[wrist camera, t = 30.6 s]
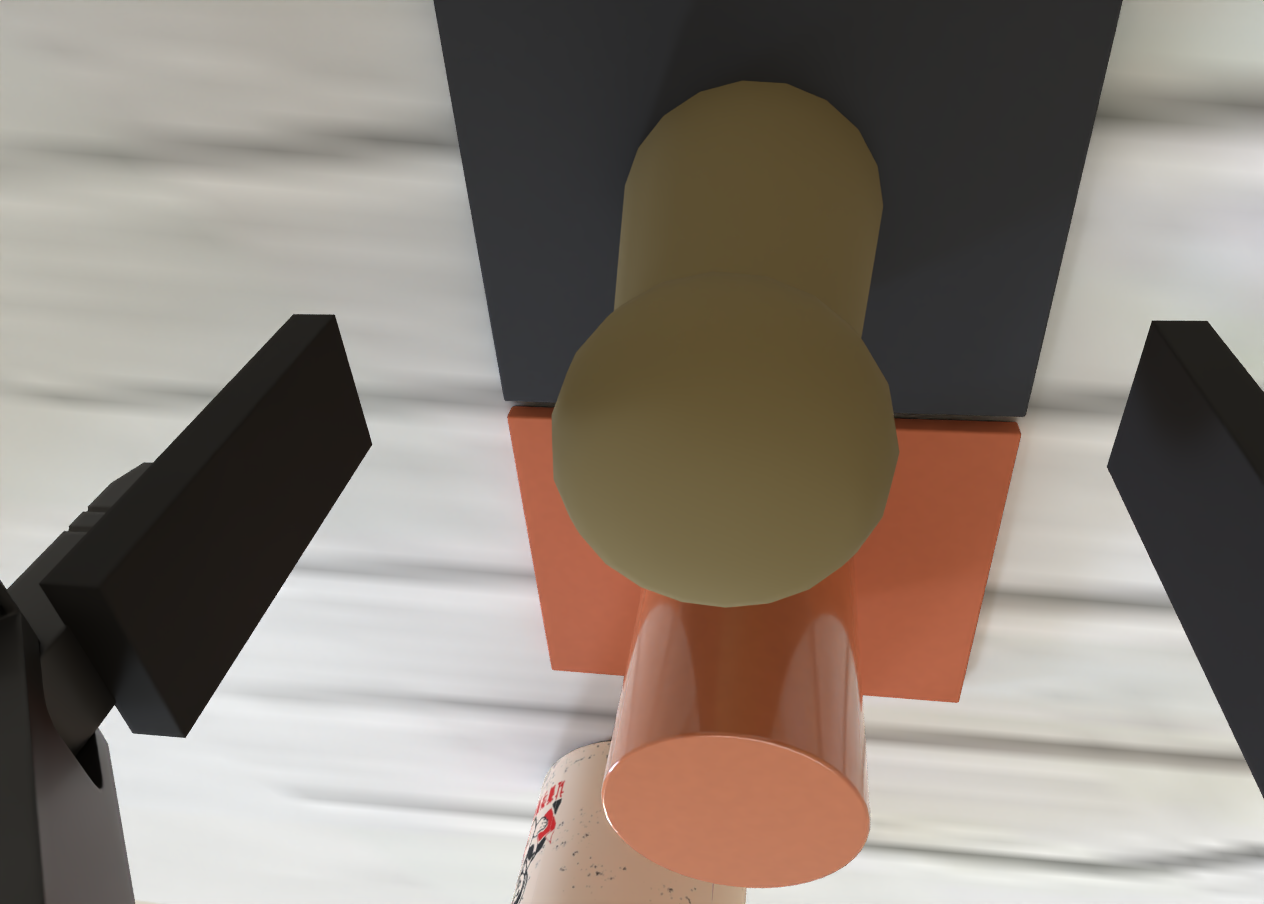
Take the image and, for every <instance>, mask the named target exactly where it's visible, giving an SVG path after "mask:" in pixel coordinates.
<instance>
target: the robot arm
mask: <svg viewBox="0 0 1264 904" xmlns="http://www.w3.org/2000/svg"><path fill="white" fill-rule="evenodd" d="M371 446H372V442H371V438H370V435H369V431H368V428H367V424H366V421H365V418H364V414H363V411H362V407H361V404H360V400H359V397H358V393H357V390H356V386H355V383H354V380H353V376H352V373H351V369H350V366H349V362H348V359H347V355H346V352H345V348H344V345H343V341H342V338H341V335H340V331H339V328H338V324H337V321H336V317H335V315H315V314H293V315H292V316H291V317H290V319H289V320H288V321H287V322H286V323H285V324H284V325H283V326H282V327H281V328H280V329H279V330H278V331H277V332H276V333H275V334H274V335H273V336H272V338H271V339H270V340H269V341H268V342H267V343H266V344H265V345H264V346H263V347H262V348H261V349H260V350H259V351H258V352H257V353H256V354H255V356H254V357H253V358H252V359H251V360H250V361H249V362H248V363H247V364H246V365H245V366H244V367H243V368H242V369H241V370H240V371H239V372H238V373H237V375H236V376H235V377H234V378H233V379H232V380H231V381H230V382H229V383H228V384H227V385H226V386H225V387H224V388H223V389H222V390H221V391H220V393H219V394H218V395H217V396H216V397H215V398H214V399H213V400H212V401H211V402H210V403H209V404H208V405H207V406H206V407H205V408H204V409H203V411H202V412H201V413H200V414H199V415H198V416H197V417H196V418H195V419H194V420H193V421H192V422H191V423H190V424H189V425H188V426H187V427H186V428H185V430H184V431H183V432H182V433H181V434H180V435H179V436H178V437H177V438H176V439H175V440H174V441H173V442H172V443H171V444H170V445H169V446H168V448H167V449H166V450H165V451H164V452H163V453H162V454H161V455H160V456H159V457H158V458H157V459H156V460H155V461H154V462H153V463H145V462H144V463H142V464H141V465H139V466H138V467H136V468H134V469H133V470H131V471H130V472H128V473H126V474H125V475H123V476H122V477H120V478H118V479H117V480H115V481H114V482H112V483H111V484H110V485H109V486H108V487H107V488H106V489H105V490H104V491H103V492H102V493H101V494H100V495H99V496H98V497H97V498H96V499H95V500H94V501H93V502H92V503H91V504H90V505H89V506H88V511H87V512H82V513H81V514H80V515H79V516H78V517H77V518H76V519H75V520H74V522H73V523H72V524H71V525H70V526H69V531H64V532H63V533H62V534H61V535H60V536H59V537H58V538H57V539H56V540H55V541H54V542H53V543H52V544H51V545H50V546H49V547H48V548H47V549H46V550H45V551H44V552H43V553H42V554H41V555H40V556H39V557H38V558H37V559H36V560H35V561H34V562H33V563H32V564H31V565H30V566H29V567H28V569H27V570H26V571H25V572H24V573H23V574H22V575H21V576H20V577H19V578H18V579H17V580H16V581H15V582H14V583H13V584H12V585H11V586H10V587H9V588H8V589H6V588H5V586H4V585H3V583H2V582H1V580H0V904H135V899H134V893H133V888H132V882H131V876H130V870H129V864H128V858H127V852H126V847H125V841H124V835H123V829H122V823H121V817H120V811H119V806H118V800H117V794H116V788H115V782H114V776H113V770H112V765H111V759H110V753H109V747H108V743H107V742H106V740H105V738H104V736H103V734H102V733H101V731H100V730H99V728H98V727H99V725H100V724H101V723H102V721H103V720H104V718H105V717H106V716H107V714H108V713H109V712H110V710H111V709H112V708H113V706H114V705H115V706H116V707H117V709H118V711H119V712H120V714H121V715H122V717H123V719H124V720H125V722H126V723H127V725H128V726H129V728H130V730H131V731H132V733H135V734H146V735H158V736H170V737H181V738H186V736H187V735H188V733H189V731H190V730H191V728H192V727H193V725H194V724H195V722H196V720H197V719H198V717H199V716H200V714H201V713H202V711H203V709H204V708H205V706H206V705H207V703H208V702H209V700H210V698H211V697H212V695H213V694H214V692H215V691H216V689H217V687H218V686H219V684H220V683H221V681H222V680H223V678H224V676H225V675H226V673H227V672H228V670H229V669H230V667H231V665H232V664H233V662H234V661H235V659H236V658H237V656H238V654H239V653H240V651H241V650H242V648H243V647H244V645H245V643H246V642H247V640H248V639H249V637H250V636H251V634H252V633H253V631H254V629H255V628H256V626H257V625H258V623H259V622H260V620H261V618H262V617H263V615H264V614H265V612H266V611H267V609H268V607H269V606H270V604H271V603H272V601H273V600H274V598H275V596H276V595H277V593H278V592H279V590H280V589H281V587H282V585H283V584H284V582H285V581H286V579H287V578H288V576H289V574H290V573H291V571H292V570H293V568H294V567H295V565H296V563H297V562H298V560H299V559H300V557H301V556H302V554H303V552H304V551H305V549H306V548H307V546H308V545H309V543H310V541H311V540H312V538H313V537H314V535H315V534H316V532H317V530H318V529H319V527H320V526H321V524H322V523H323V521H324V519H325V518H326V516H327V515H328V513H329V512H330V510H331V508H332V507H333V505H334V504H335V502H336V501H337V499H338V497H339V496H340V494H341V493H342V491H343V490H344V488H345V486H346V485H347V483H348V482H349V480H350V479H351V477H352V475H353V474H354V472H355V471H356V469H357V468H358V466H359V464H360V463H361V461H362V460H363V458H364V457H365V455H366V453H367V452H368V450H369V449H370V447H371ZM1107 468H1108V470H1109V472H1110V474H1111V476H1112V479H1113V481H1114V483H1115V485H1116V487H1117V489H1118V491H1119V493H1120V495H1121V498H1122V500H1123V502H1124V504H1125V506H1126V508H1127V510H1128V512H1129V514H1130V517H1131V519H1132V521H1133V523H1134V525H1135V527H1136V529H1137V531H1138V534H1139V536H1140V538H1141V540H1142V542H1143V544H1144V546H1145V548H1146V550H1147V553H1148V555H1149V557H1150V559H1151V561H1152V563H1153V565H1154V567H1155V569H1156V572H1157V574H1158V576H1159V578H1160V580H1161V582H1162V584H1163V586H1164V588H1165V591H1166V593H1167V595H1168V597H1169V599H1170V601H1171V603H1172V605H1173V608H1174V610H1175V612H1176V614H1177V616H1178V618H1179V620H1180V622H1181V624H1182V627H1183V629H1184V631H1185V633H1186V635H1187V637H1188V639H1189V641H1190V643H1191V646H1192V648H1193V650H1194V652H1195V654H1196V656H1197V658H1198V660H1199V663H1200V665H1201V667H1202V669H1203V671H1204V673H1205V675H1206V677H1207V679H1208V682H1209V684H1210V686H1211V688H1212V690H1213V692H1214V694H1215V696H1216V698H1217V701H1218V703H1219V705H1220V707H1221V709H1222V711H1223V713H1224V715H1225V717H1226V720H1227V722H1228V724H1229V726H1230V728H1231V730H1232V732H1233V734H1234V737H1235V739H1236V741H1237V743H1238V745H1239V747H1240V749H1241V751H1242V753H1243V756H1244V758H1245V760H1246V762H1247V764H1248V766H1249V768H1250V770H1251V772H1252V775H1253V777H1254V779H1255V781H1256V783H1257V785H1258V787H1259V789H1260V792H1261V794H1262V796H1263V798H1264V392H1263V391H1262V389H1261V388H1260V387H1259V386H1258V384H1257V383H1256V382H1255V381H1254V379H1253V378H1252V377H1251V376H1250V374H1249V373H1248V372H1247V371H1246V369H1245V368H1244V367H1243V365H1242V364H1241V363H1240V362H1239V360H1238V359H1237V358H1236V357H1235V355H1234V354H1233V353H1232V352H1231V350H1230V349H1229V348H1228V347H1227V345H1226V344H1225V343H1224V341H1223V340H1222V339H1221V338H1220V336H1219V335H1218V334H1217V333H1216V331H1215V330H1214V329H1213V328H1212V326H1211V325H1210V324H1209V323H1208V321H1152V323H1151V326H1150V329H1149V332H1148V336H1147V339H1146V342H1145V345H1144V348H1143V352H1142V355H1141V358H1140V361H1139V365H1138V368H1137V371H1136V374H1135V378H1134V381H1133V384H1132V387H1131V390H1130V394H1129V397H1128V400H1127V403H1126V407H1125V410H1124V413H1123V416H1122V420H1121V423H1120V426H1119V429H1118V432H1117V436H1116V439H1115V442H1114V445H1113V449H1112V452H1111V455H1110V458H1109V462H1108V465H1107Z"/></svg>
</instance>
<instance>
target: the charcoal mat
mask: <svg viewBox="0 0 1264 904" xmlns="http://www.w3.org/2000/svg"><path fill="white" fill-rule="evenodd" d="M1122 1H1123V0H434V6H435V11H436V17H437V23H438V28H439V34H440V40H441V45H442V51H443V57H444V62H445V68H446V74H447V79H448V85H449V91H450V96H451V102H452V108H453V113H454V119H455V124H456V130H457V136H458V141H459V147H460V153H461V158H462V164H463V170H464V175H465V181H466V187H467V192H468V198H469V204H470V209H471V215H472V221H473V226H474V232H475V237H476V243H477V249H478V254H479V260H480V266H481V271H482V277H483V283H484V288H485V294H486V300H487V305H488V311H489V317H490V322H491V328H492V333H493V339H494V345H495V350H496V356H497V362H498V367H499V373H500V379H501V384H502V390H503V396H504V400H505V401H526V402H556V401H557V399H558V396H559V393H560V390H561V388H562V385H563V382H564V379H565V377H566V374H567V371H568V369H569V367H570V365H571V362H572V360H573V358H574V355H575V353H576V352H577V351H578V350H579V348H580V347H581V346H582V345H583V344H584V343H585V342H586V340H587V339H588V338H589V337H590V336H591V335H592V334H593V332H594V331H595V330H596V329H597V328H598V327H599V326H600V324H601V323H602V322H603V321H604V320H605V319H606V318H607V317H608V316H609V315H610V314H611V313H612V312H614V303H615V292H616V281H617V269H618V258H619V246H620V235H621V224H622V212H623V201H624V190H625V184H626V181H627V178H628V175H629V173H630V170H631V167H632V164H633V161H634V159H635V156H636V153H637V150H638V148H639V147H640V145H641V144H642V143H643V141H644V140H645V139H646V138H647V136H648V135H649V134H650V132H651V131H652V130H653V129H654V127H655V126H656V125H657V124H658V122H659V121H660V120H661V118H662V117H663V116H664V115H665V114H667V113H668V112H670V111H671V110H673V109H675V108H676V107H678V106H679V105H681V104H682V103H684V102H685V101H687V100H688V99H690V98H691V97H693V96H694V95H696V94H697V93H699V92H701V91H705V90H709V89H712V88H716V87H720V86H724V85H727V84H731V83H735V82H739V81H757V82H772V83H786V84H789V85H791V86H794V87H796V88H798V89H801V90H803V91H806V92H808V93H810V94H813V95H815V96H817V97H820V98H822V99H825V100H827V101H828V102H829V103H830V104H831V105H832V106H833V107H835V108H836V109H837V110H838V111H839V112H840V113H841V114H842V115H843V116H844V117H845V118H847V119H848V120H849V121H850V122H851V123H852V124H853V125H854V126H855V127H856V128H858V130H859V131H860V133H861V135H862V137H863V139H864V141H865V143H866V145H867V147H868V149H869V150H870V152H871V154H872V156H873V158H874V160H875V162H876V164H877V166H878V172H879V179H880V186H881V193H882V201H883V211H882V217H881V223H880V229H879V235H878V241H877V247H876V253H875V259H874V265H873V271H872V277H871V283H870V289H869V295H868V301H867V307H866V313H865V319H864V325H863V331H862V337H861V339H862V340H863V342H864V343H865V345H866V347H867V349H868V350H869V352H870V354H871V355H872V357H873V359H874V360H875V362H876V364H877V365H878V367H879V369H880V370H881V372H882V374H883V376H884V377H885V379H886V381H887V382H888V384H889V390H890V395H891V401H892V407H893V413H916V414H948V415H981V416H1013V417H1024V416H1025V415H1026V412H1027V408H1028V403H1029V399H1030V395H1031V391H1032V386H1033V382H1034V378H1035V373H1036V369H1037V365H1038V361H1039V356H1040V352H1041V348H1042V343H1043V339H1044V335H1045V331H1046V326H1047V322H1048V318H1049V313H1050V309H1051V305H1052V301H1053V296H1054V292H1055V288H1056V284H1057V279H1058V275H1059V271H1060V266H1061V262H1062V258H1063V254H1064V249H1065V245H1066V241H1067V236H1068V232H1069V228H1070V224H1071V219H1072V215H1073V211H1074V207H1075V202H1076V198H1077V194H1078V189H1079V185H1080V181H1081V177H1082V172H1083V168H1084V164H1085V159H1086V155H1087V151H1088V147H1089V142H1090V138H1091V134H1092V129H1093V125H1094V121H1095V117H1096V112H1097V108H1098V104H1099V100H1100V95H1101V91H1102V87H1103V82H1104V78H1105V74H1106V70H1107V65H1108V61H1109V57H1110V52H1111V48H1112V44H1113V40H1114V35H1115V31H1116V27H1117V22H1118V18H1119V14H1120V10H1121V5H1122Z"/></svg>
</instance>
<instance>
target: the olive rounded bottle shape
mask: <svg viewBox="0 0 1264 904" xmlns="http://www.w3.org/2000/svg"><path fill="white" fill-rule="evenodd" d="M882 211H883V201H882V193H881V186H880V179H879V172H878V166H877V164H876V162H875V160H874V158H873V156H872V154H871V152H870V150H869V149H868V147H867V145H866V143H865V141H864V139H863V137H862V135H861V133H860V131H859V130H858V128H856V127H855V126H854V125H853V124H852V123H851V122H850V121H849V120H848V119H847V118H845V117H844V116H843V115H842V114H841V113H840V112H839V111H838V110H837V109H836V108H835V107H833V106H832V105H831V104H830V103H829V102H828V101H827V100H825V99H822V98H820V97H817V96H815V95H813V94H810V93H808V92H806V91H803V90H801V89H798V88H796V87H794V86H791V85H789V84H786V83H772V82H757V81H739V82H735V83H731V84H727V85H724V86H720V87H716V88H712V89H709V90H705V91H701V92H699V93H697V94H696V95H694V96H693V97H691V98H690V99H688V100H687V101H685V102H684V103H682V104H681V105H679V106H678V107H676V108H675V109H673V110H671V111H670V112H668V113H667V114H665V115H664V116H663V117H662V118H661V120H660V121H659V122H658V124H657V125H656V126H655V127H654V129H653V130H652V131H651V132H650V134H649V135H648V136H647V138H646V139H645V140H644V141H643V143H642V144H641V145H640V147H639V148H638V150H637V153H636V156H635V159H634V161H633V164H632V167H631V170H630V173H629V175H628V178H627V181H626V184H625V190H624V201H623V212H622V224H621V235H620V246H619V258H618V269H617V281H616V292H615V303H614V312H612V313H611V314H610V315H609V316H608V317H607V318H606V319H605V320H604V321H603V322H602V323H601V324H600V326H599V327H598V328H597V329H596V330H595V331H594V332H593V334H592V335H591V336H590V337H589V338H588V339H587V340H586V342H585V343H584V344H583V345H582V346H581V347H580V348H579V350H578V351H577V352H576V353H575V355H574V358H573V360H572V362H571V365H570V367H569V369H568V371H567V374H566V377H565V379H564V382H563V385H562V388H561V390H560V393H559V396H558V399H557V401H556V404H555V407H554V410H553V412H552V453H553V479H554V482H555V484H556V486H557V489H558V491H559V493H560V496H561V498H562V501H563V503H564V505H565V508H566V510H567V512H568V515H569V517H570V519H571V521H572V522H573V524H574V526H575V527H576V529H577V531H578V532H579V534H580V535H581V536H582V537H583V539H584V540H585V541H586V542H587V543H588V544H589V545H590V547H591V548H592V549H593V550H594V551H595V552H596V553H597V555H598V556H599V557H600V558H601V559H602V560H603V561H604V563H605V564H607V565H608V566H610V567H611V568H613V569H614V570H616V571H617V572H619V573H620V574H622V575H623V576H625V577H626V578H628V579H629V580H631V581H632V582H634V583H635V584H637V585H638V586H640V587H642V588H644V589H647V590H650V591H653V592H655V593H658V594H661V595H664V596H666V597H669V598H672V599H675V600H677V601H680V602H686V603H693V604H701V605H709V606H717V607H724V608H727V607H737V606H748V605H758V604H769V603H772V602H775V601H778V600H780V599H783V598H786V597H789V596H792V595H795V594H798V593H801V592H803V591H806V590H809V589H811V588H812V587H813V586H815V585H816V584H818V583H819V582H821V581H822V580H823V579H825V578H826V577H828V576H829V575H831V574H832V573H833V572H835V571H836V570H838V569H839V568H841V567H842V566H843V565H844V564H845V563H846V562H847V561H848V560H850V559H851V558H852V557H853V556H854V555H855V554H856V553H857V552H858V550H859V549H860V548H861V546H862V545H863V543H864V542H865V541H866V539H867V538H868V537H869V535H870V534H871V533H872V531H873V530H874V528H875V527H876V526H877V524H878V523H879V522H880V520H881V519H882V517H883V514H884V510H885V507H886V503H887V499H888V496H889V492H890V488H891V484H892V480H893V476H894V472H895V468H896V464H897V460H898V456H899V453H900V452H899V446H898V439H897V433H896V426H895V420H894V413H893V407H892V401H891V395H890V390H889V384H888V382H887V381H886V379H885V377H884V376H883V374H882V372H881V370H880V369H879V367H878V365H877V364H876V362H875V360H874V359H873V357H872V355H871V354H870V352H869V350H868V349H867V347H866V345H865V343H864V342H863V340H862V339H861V337H862V331H863V325H864V319H865V313H866V307H867V301H868V295H869V289H870V283H871V277H872V271H873V265H874V259H875V253H876V247H877V241H878V235H879V229H880V223H881V217H882Z"/></svg>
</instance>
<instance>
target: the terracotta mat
mask: <svg viewBox="0 0 1264 904" xmlns="http://www.w3.org/2000/svg"><path fill="white" fill-rule="evenodd" d="M553 410H554V407H524V406H513V407H512V408H511V410H510V412H509V414H508V417H507V418H508V424H509V430H510V435H511V441H512V446H513V452H514V458H515V463H516V469H517V475H518V480H519V486H520V492H521V497H522V503H523V509H524V514H525V520H526V526H527V531H528V537H529V543H530V548H531V554H532V559H533V565H534V571H535V576H536V582H537V588H538V593H539V599H540V605H541V610H542V616H543V622H544V627H545V633H546V639H547V644H548V650H549V656H550V661H551V667H552V670H559V671H571V672H583V673H596V674H608V675H621V676H624V675H625V671H626V666H627V661H628V656H629V651H630V646H631V641H632V636H633V631H634V626H635V621H636V616H637V612H638V607H639V602H640V597H641V592H642V587H640V586H638V585H637V584H635V583H634V582H632V581H631V580H629V579H628V578H626V577H625V576H623V575H622V574H620V573H619V572H617V571H616V570H614V569H613V568H611V567H610V566H608V565H607V564H605V563H604V561H603V560H602V559H601V558H600V557H599V556H598V555H597V553H596V552H595V551H594V550H593V549H592V548H591V547H590V545H589V544H588V543H587V542H586V541H585V540H584V539H583V537H582V536H581V535H580V534H579V532H578V531H577V529H576V527H575V526H574V524H573V522H572V521H571V519H570V517H569V515H568V512H567V510H566V508H565V505H564V503H563V501H562V498H561V496H560V493H559V491H558V489H557V486H556V484H555V482H554V479H553V453H552V412H553ZM894 420H895V426H896V433H897V439H898V446H899V452H900V453H899V456H898V460H897V464H896V468H895V472H894V476H893V480H892V484H891V488H890V492H889V496H888V499H887V503H886V507H885V510H884V514H883V517H882V519H881V520H880V522H879V523H878V524H877V526H876V527H875V528H874V530H873V531H872V533H871V534H870V535H869V537H868V538H867V539H866V541H865V542H864V543H863V545H862V546H861V548H860V549H859V550H858V552H857V553H856V554H855V555H854V568H855V583H856V599H857V615H858V631H859V647H860V662H861V678H862V694H863V695H868V696H880V697H893V698H905V699H917V700H930V701H942V702H955V703H957V702H959V699H960V694H961V690H962V686H963V682H964V677H965V673H966V669H967V664H968V660H969V656H970V652H971V647H972V643H973V639H974V634H975V630H976V626H977V622H978V617H979V613H980V609H981V604H982V600H983V596H984V592H985V587H986V583H987V579H988V575H989V570H990V566H991V562H992V557H993V553H994V549H995V545H996V540H997V536H998V532H999V527H1000V523H1001V519H1002V515H1003V510H1004V506H1005V502H1006V498H1007V493H1008V489H1009V485H1010V480H1011V476H1012V472H1013V468H1014V463H1015V459H1016V455H1017V450H1018V446H1019V442H1020V438H1021V432H1020V429H1019V426H1018V423H1016V422H997V421H965V420H934V419H902V418H894Z"/></svg>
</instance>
